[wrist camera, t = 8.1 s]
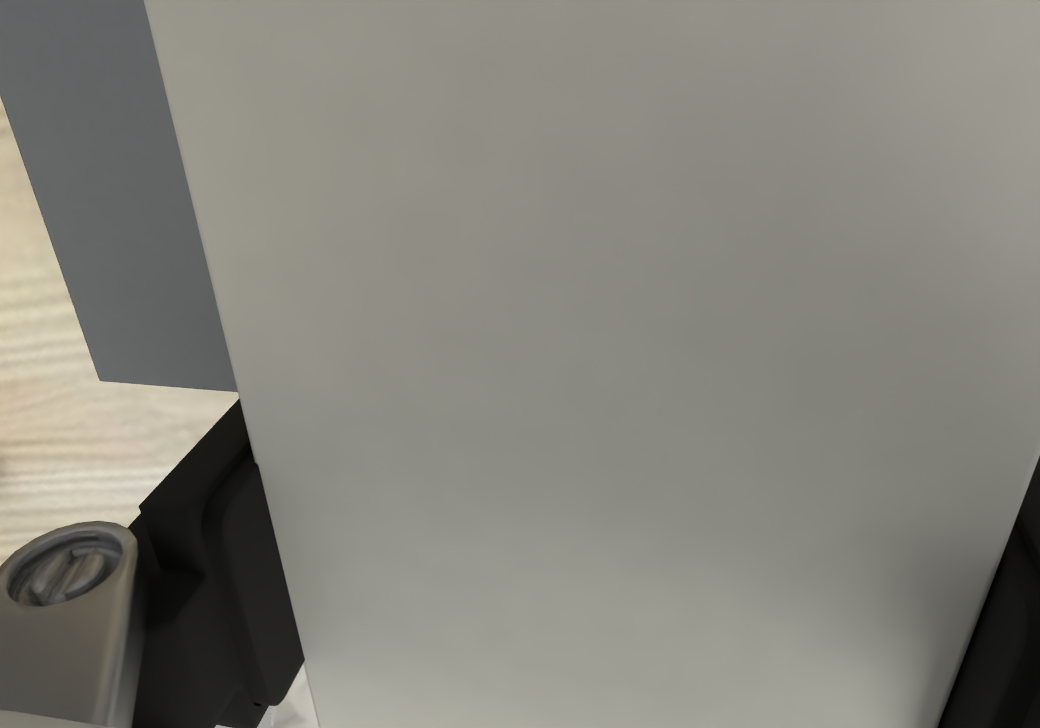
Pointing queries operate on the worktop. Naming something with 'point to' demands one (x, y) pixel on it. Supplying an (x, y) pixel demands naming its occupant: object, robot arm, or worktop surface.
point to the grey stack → (113, 188)
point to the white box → (625, 343)
